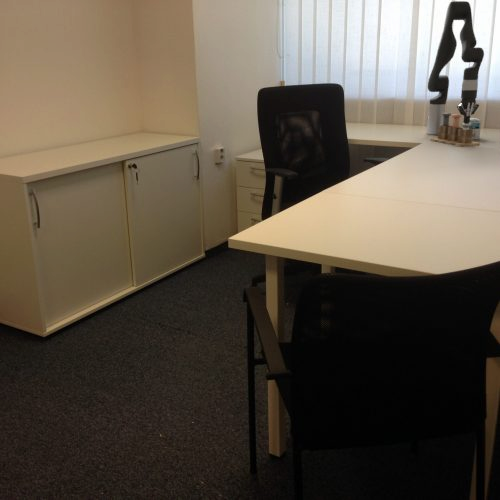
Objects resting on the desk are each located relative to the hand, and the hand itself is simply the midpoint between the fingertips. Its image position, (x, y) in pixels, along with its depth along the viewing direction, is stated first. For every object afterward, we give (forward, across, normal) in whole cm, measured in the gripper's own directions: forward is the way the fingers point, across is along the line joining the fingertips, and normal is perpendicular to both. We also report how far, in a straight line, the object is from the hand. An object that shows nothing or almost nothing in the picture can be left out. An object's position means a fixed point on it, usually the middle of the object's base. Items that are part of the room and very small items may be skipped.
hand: (466, 123), depth 303 cm
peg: (+6, 0, -16) cm, 17 cm away
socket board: (+11, 0, -8) cm, 14 cm away
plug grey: (+9, 0, 0) cm, 9 cm away
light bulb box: (+11, -17, -15) cm, 25 cm away
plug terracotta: (+5, 0, -8) cm, 10 cm away
